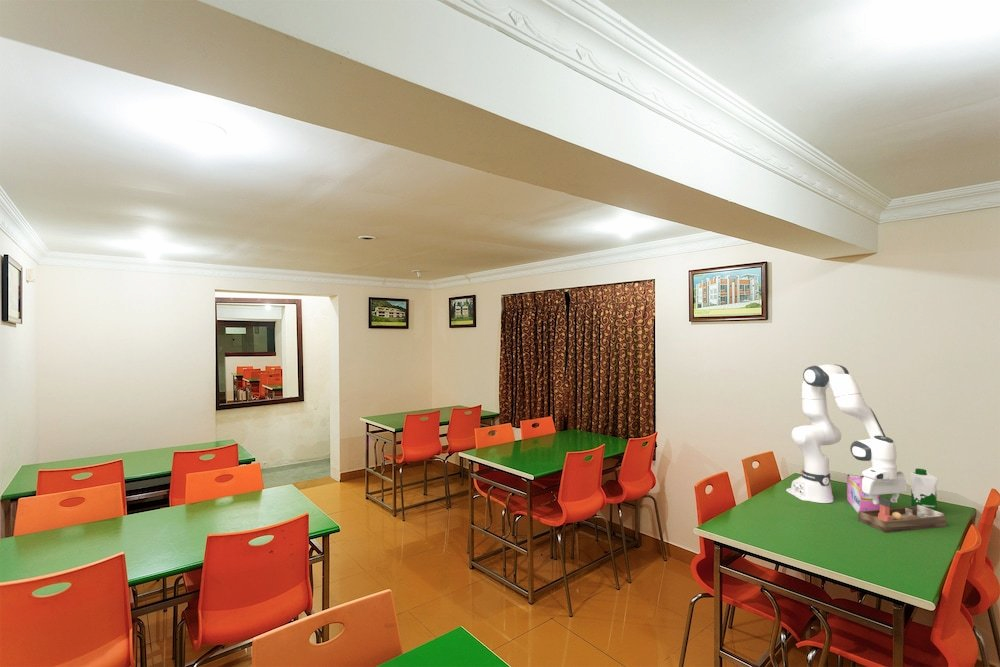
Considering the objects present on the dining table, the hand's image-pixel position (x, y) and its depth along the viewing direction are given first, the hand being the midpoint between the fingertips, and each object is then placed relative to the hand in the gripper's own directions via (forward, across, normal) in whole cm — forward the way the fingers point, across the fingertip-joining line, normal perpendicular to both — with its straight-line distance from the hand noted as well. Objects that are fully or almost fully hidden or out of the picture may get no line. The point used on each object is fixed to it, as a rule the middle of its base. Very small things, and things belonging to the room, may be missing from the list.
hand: (884, 503), depth 215 cm
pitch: (+10, -9, 0) cm, 14 cm away
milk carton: (+10, -33, -10) cm, 36 cm away
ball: (+6, -6, 0) cm, 9 cm away
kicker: (+8, 0, 0) cm, 8 cm away
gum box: (+10, -9, -20) cm, 24 cm away
